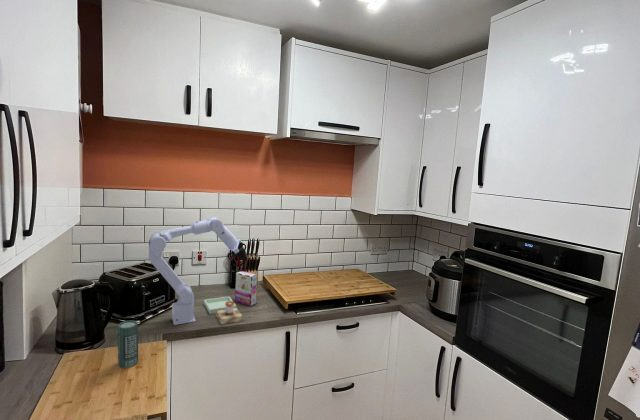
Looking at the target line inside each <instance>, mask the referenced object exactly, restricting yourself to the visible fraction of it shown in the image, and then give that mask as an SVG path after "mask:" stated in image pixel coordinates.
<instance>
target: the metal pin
mask: <svg viewBox="0 0 640 420" xmlns="http://www.w3.org/2000/svg"><path fill="white" fill-rule="evenodd" d="M232 301H233V300H232ZM232 301H228V302H226V303H225V305H226V316H227V315H232V313H233V305H234V303H235V301H233V302H232Z"/></svg>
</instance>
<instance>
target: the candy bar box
mask: <svg viewBox="0 0 640 420" xmlns="http://www.w3.org/2000/svg"><path fill="white" fill-rule="evenodd" d="M234 290H235V292H234V294H235V295H234V303H235V302H236V303H238V304H242V305H245V306H248V307H252V306H255V305H256V304H257V295H258V293H257V292H258V291H257V290H258V274H256V273H252V272H247V271H244V270H241V271H237V272H236V273H235V289H234Z"/></svg>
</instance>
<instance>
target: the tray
mask: <svg viewBox="0 0 640 420" xmlns="http://www.w3.org/2000/svg"><path fill="white" fill-rule="evenodd" d="M228 301H232V302H234V301H233V299H232V298H231V297H230V296H222V297H215V298H208V299H204V300H203V305H204V307H205V309H206V311H207V313H208V315H216V311H219V310H225V309H226V305H225V303H226V302H228ZM233 308H237V304H236V303H235V302H234V305H233Z"/></svg>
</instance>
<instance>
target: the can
mask: <svg viewBox="0 0 640 420" xmlns="http://www.w3.org/2000/svg"><path fill="white" fill-rule="evenodd" d="M138 363H139V322H138V321H136V320H125V321H122V322H120V323H118V325H117V366H118V367H119V368H122V369H123V368H124V369H127V368H128V369H129V368H131V367H134V366H136V365H137V364H138Z"/></svg>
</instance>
